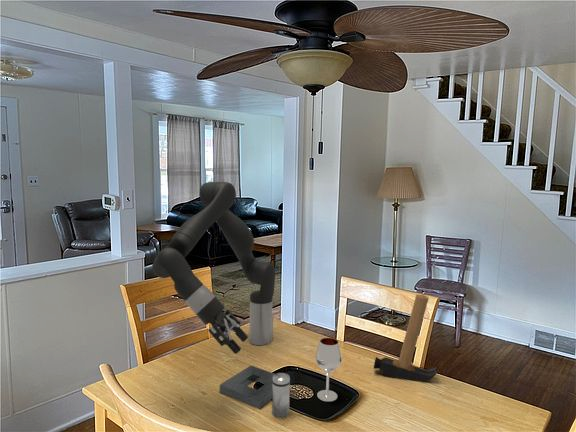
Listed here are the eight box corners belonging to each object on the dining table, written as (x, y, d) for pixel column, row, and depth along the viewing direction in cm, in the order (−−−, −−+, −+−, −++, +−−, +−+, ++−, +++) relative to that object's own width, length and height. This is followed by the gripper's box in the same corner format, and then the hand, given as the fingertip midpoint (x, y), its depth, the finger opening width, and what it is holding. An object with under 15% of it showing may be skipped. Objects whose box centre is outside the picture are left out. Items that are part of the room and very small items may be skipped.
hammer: (430, 382, 146) (453, 302, 141) (432, 389, 141) (455, 307, 136) (373, 364, 150) (393, 286, 145) (373, 371, 145) (394, 290, 140)
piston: (278, 405, 125) (279, 371, 124) (292, 411, 122) (293, 376, 121) (268, 414, 121) (268, 378, 120) (282, 420, 118) (283, 383, 117)
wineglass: (323, 405, 126) (325, 349, 124) (309, 392, 133) (311, 338, 131) (345, 399, 129) (347, 344, 127) (330, 386, 137) (332, 334, 135)
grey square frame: (250, 372, 145) (250, 365, 145) (289, 386, 136) (289, 378, 136) (219, 392, 132) (219, 384, 131) (259, 409, 123) (260, 401, 123)
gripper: (205, 303, 113) (245, 347, 113) (221, 289, 128) (256, 328, 127) (187, 321, 115) (226, 364, 114) (204, 305, 129) (239, 343, 128)
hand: (242, 345), depth 121 cm, fingers open, 8 cm apart
